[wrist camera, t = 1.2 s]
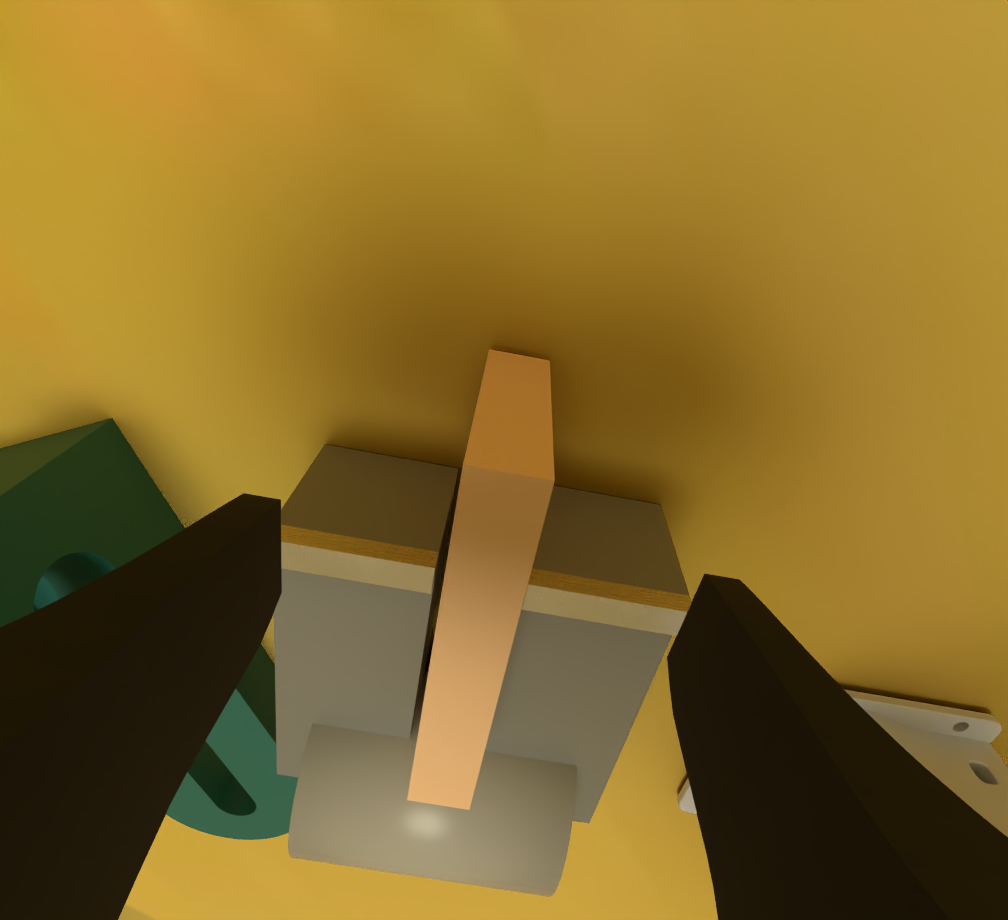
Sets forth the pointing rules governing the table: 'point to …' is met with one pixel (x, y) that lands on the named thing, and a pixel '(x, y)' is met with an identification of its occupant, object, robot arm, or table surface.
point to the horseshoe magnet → (402, 672)
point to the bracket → (103, 548)
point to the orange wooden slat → (485, 574)
